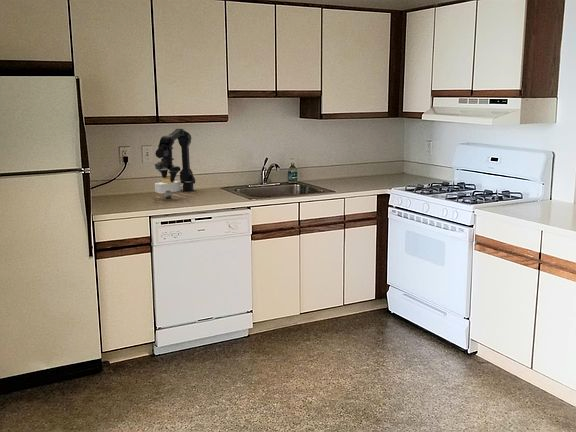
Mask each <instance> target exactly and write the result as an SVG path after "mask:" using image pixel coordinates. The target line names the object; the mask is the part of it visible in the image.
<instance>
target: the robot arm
mask: <svg viewBox="0 0 576 432" xmlns="http://www.w3.org/2000/svg"><path fill="white" fill-rule="evenodd" d="M176 140H177V141H178V145H179V146H180V148H181V149H180V150H181V166H182V168H181V167H180V166H179V165H178V166H177V165H174V164H173V161H174V157H173V150H174V147H173V145H174V144H175V141H176ZM191 143H192V135H191V134H190V132H188V131H186V130H185V129H184V128H175V129H174V130H173V131H172V132H170V133H169V134H168V135H163V136H161V137H160V140H159V143H158V146H157V148H158V149H156V150H155V153H154V154H155V156H156V158H158V159H160V161H158V162H156V163H155V164H154V168H155V170H157V172H159V173H160V174H161V176H162V177H161V178H163V177H168V174H169V175H170V176H169V177H170V178H171V182H173V181H174V179H175V180H176V177H177V174H178V173H179V181H181V183H182V192H186V193H187V192H193V191H194V184H196V178H195V176H194V175H193V171H192V169H191V166H190V144H191Z"/></svg>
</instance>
